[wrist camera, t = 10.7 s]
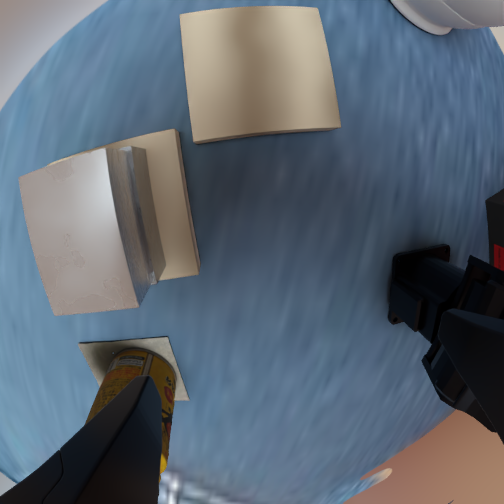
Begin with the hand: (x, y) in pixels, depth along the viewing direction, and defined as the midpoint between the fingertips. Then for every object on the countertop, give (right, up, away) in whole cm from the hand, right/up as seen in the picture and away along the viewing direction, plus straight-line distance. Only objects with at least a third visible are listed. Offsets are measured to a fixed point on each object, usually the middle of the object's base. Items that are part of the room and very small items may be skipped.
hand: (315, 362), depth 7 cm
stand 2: (-1, +15, +9) cm, 17 cm away
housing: (-10, +5, +9) cm, 14 cm away
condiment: (-12, -7, +15) cm, 21 cm away
